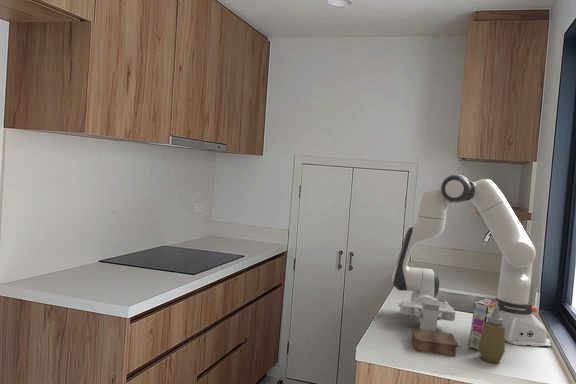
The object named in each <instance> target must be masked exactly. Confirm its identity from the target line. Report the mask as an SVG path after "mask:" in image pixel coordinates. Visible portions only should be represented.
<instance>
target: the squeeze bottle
mask: <svg viewBox="0 0 576 384" xmlns="http://www.w3.org/2000/svg"><path fill="white" fill-rule="evenodd" d="M502 324H503V318H501V317H500V312H499V307H498V306H495V308H494V311H493V314H492V316H488V322H485V323H484V326H483V331H482V335H481V339H480V343H479V355H480V358H481V360H483V361H485V362H488V363H492V364H498V363H501V362H500V361H501V360H502V358H503V356H504V354H505V351H506V350H505V349H506V341H505V327H504V326H503V325H502Z"/></svg>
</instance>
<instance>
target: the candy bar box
mask: <svg viewBox="0 0 576 384" xmlns="http://www.w3.org/2000/svg"><path fill="white" fill-rule="evenodd" d="M473 306H474V307H473V313H472V318H471V319H472V321H471V327H470V334H469V340H468V348H469V349H472V350H475V351H479V343H480V339H481V335H482V331H483V326H484V323H485V322H488V316H492V314H493V311H494V308H495V306H498V301H495V300H494V299H489V298H483V299H480V300H477V301H475V302H474V305H473ZM479 352H480V351H479Z"/></svg>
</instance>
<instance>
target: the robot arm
mask: <svg viewBox="0 0 576 384" xmlns="http://www.w3.org/2000/svg"><path fill="white" fill-rule="evenodd" d="M467 201H470V202H472V204H473V205H474V207H475V208H476V209H477V212H478V213H479V215H480V217H481V219H482V220H483V222H484V223H485V225H486V227H487V228H488V231H489V232H490V234H491V235H492V238H493V239H494V241H495V243H496V246H497V247H498V248H499V251H500V252H501V254H502V257H501V262H500V263H501V264H500V273H499V281H498V287H497V296H496V297H495V300H494V301H498V307H499V312H500V317H501V318H503V324H502V325H503V326H504V327H505V342H507V343H510V344H511V345H516V346H526V345H531V346H530V347H538V346H551V344H550V343H551V342H552V341H551V340H550V339H549V338H547V330H546V329H547V328H546V327H545V325H544V324H543V323H542V322H541V321H540V320H539V319H538V318H537V317H536V316H535V315H534V314H533V313H537V312H538V308H537V307H536V306H534V305H532V304H531V303H529V299H530V292H531V284H532V274H533V273H532V272H533V263H534V261H535V259H536V256H537V252H536V251H537V250H536V247H535V246H534V244H533V241H532V240H531V238H530V237H529V236H528V234H527V232H526V231H525V229H524V227H523V225H522V224H521V222H520V220H519V219H518V217H517V215H516V214H515V212H514V210H513V209H512V207H511V205H510V203H509V202H508V200H507V198H506V197H505V195H504V194H503V193H502V191H501V189H499V187H498V185H496V183H494V182H493V180H492V179H489V178H482V179H479V180H476V181H471V180H470V179H468V178H467V177H466V176H464V175H462V174H452V175H449V176H447V177H445V178H444V179H443V180H442V182H441V185H440V188H438V189H429V190H426V191H424V192H423V193H422V196H421V200H420V203H419V207H418V212H417V218H416V221H415V223H414V224H413V225H412V226H411V227H408V229H407V231H406V233H405V235H404V239H403V242H402V245H401V248H400V252H399V255H398V258H397V262H396V265H395V267H394V269H393V271H392V275H391V284H392V286H393V287H394V288H395V289H396V290H398V291H405V292H406V291H408V292H410V291H411V293H410V301H406V300H403V301H401V302H399V303H398V308H399V313H400V314H402V315H404V316H405V315H406V316H411V317H413V316H414V317H418V318H420V319H421V318H423V312H422V304H423V300H425V301H432V302H437V303H438V304H439V311H438V318H437V321H441V320H442V321H449V322H454V321H455V318H456V311H455V309H454V308H453V306H451V305H450V304H449V302H448V301H446V300H441V299H438V298H436V297H437V296H438V295H439V290H440V278H439V275H438V273H437V272H436V270H434V269H431V268H423V267H421V268H420V267H415V266H414V267H413V266H409V265H408V264H409V260H410V257H411V255H412V254H411V253H412V251H413V248H414V247H415V246H416V245H417V244H419V243H422V242H427V241H430V240H433V239H436V238H438V237H439V236H441V235H442V234H443V233H444V230H445V228H446V221H447V214H448V213H447V212H448V209H449V206H450V205H451V204H453V203H454V204H457V203H459V204H460V203H464V202H467ZM550 341H551V342H550Z"/></svg>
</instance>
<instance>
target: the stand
mask: <svg viewBox="0 0 576 384" xmlns="http://www.w3.org/2000/svg"><path fill="white" fill-rule="evenodd" d="M411 333H412V336H411V342H412V345H413V348H414V351H415V352H422V353H430V354H436V355H442V356H450V357H456V355H457V354H456V353H457V349H458V348H459V343H458V341H457V340H456V338H455V337H454V335H453V334H452V333H449V332H443V331H442V332H441V331H436V332H435V331H428V330H421V329H420V328H414V327H413V328H412V327H411Z"/></svg>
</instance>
